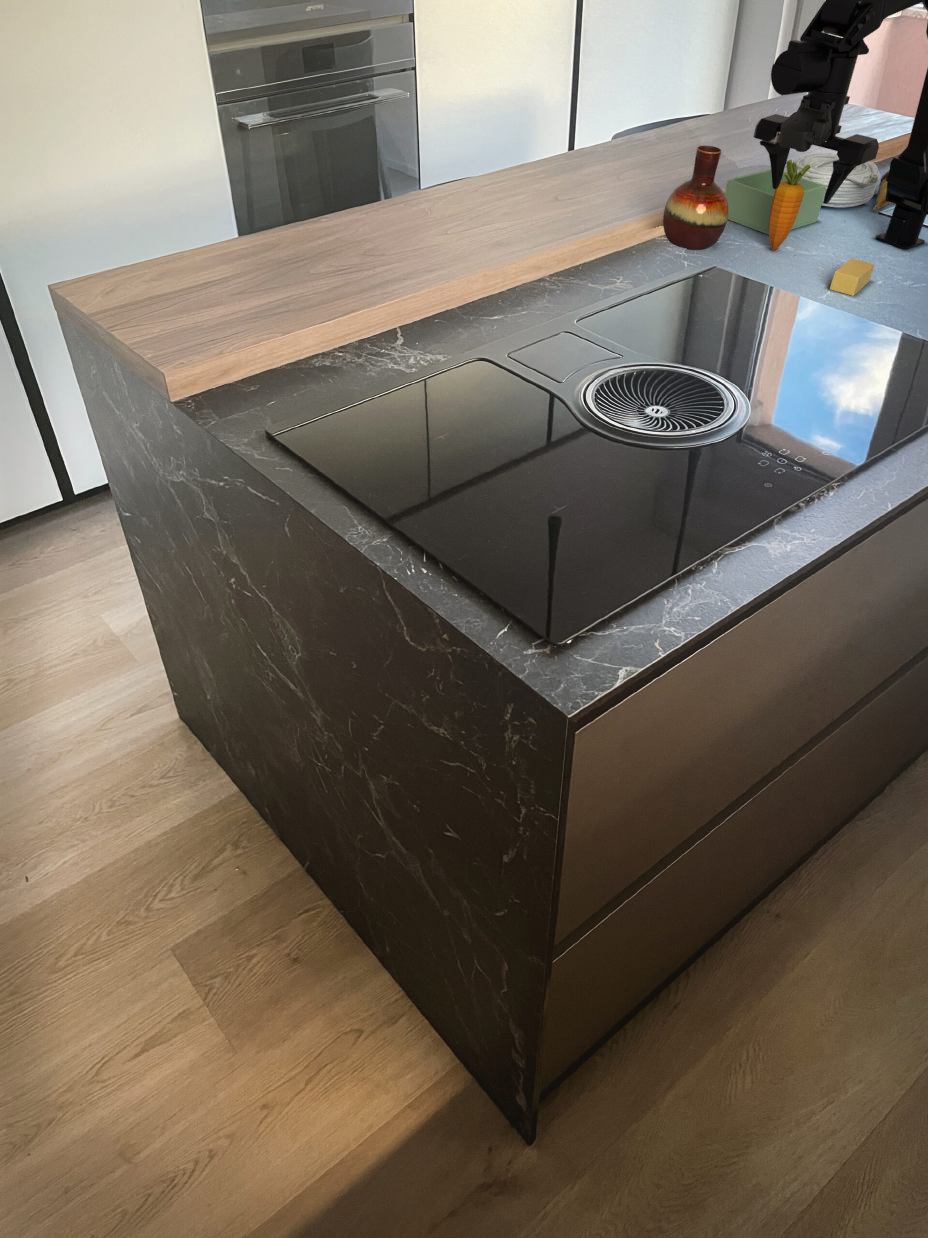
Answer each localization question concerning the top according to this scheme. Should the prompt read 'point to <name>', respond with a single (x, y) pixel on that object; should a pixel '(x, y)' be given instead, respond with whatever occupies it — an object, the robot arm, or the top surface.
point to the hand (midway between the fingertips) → (800, 195)
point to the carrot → (785, 205)
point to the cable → (853, 188)
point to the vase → (697, 205)
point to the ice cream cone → (882, 193)
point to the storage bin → (768, 200)
